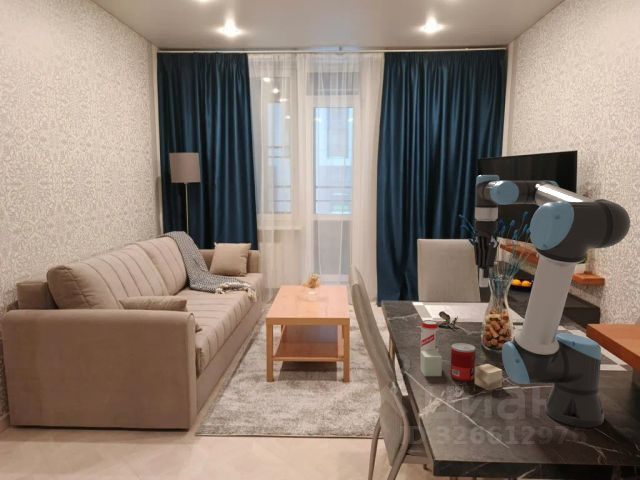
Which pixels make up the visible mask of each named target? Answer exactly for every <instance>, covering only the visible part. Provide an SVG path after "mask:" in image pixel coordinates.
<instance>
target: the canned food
mask: <svg viewBox="0 0 640 480" xmlns="http://www.w3.org/2000/svg"><path fill="white" fill-rule="evenodd" d="M450 351H451V352H450V377H451V378H452V379H453V380H456V381H460V382H471V381H473V380H475V367H476V366H475V365H476V347H475V346H474V345H473V344H469V343H464V342H458V343H453V344H452V345H451V349H450Z"/></svg>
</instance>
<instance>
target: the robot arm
mask: <svg viewBox="0 0 640 480" xmlns="http://www.w3.org/2000/svg"><path fill="white" fill-rule="evenodd" d="M475 183H476V184H475V207H474V208H475V209H474V219H475V220H474V231H475V232H477V233H476V236H475V237H472V242H473V243H472V244H473V250H474V263H475V266H478V269H479V271H478V275H479V277H478V278H479V279H478V287H479V288H488V287H489V277H490V269H493V268H494V266H495V263H496V262H495V260H496V257H497V252H498V251H497V250H498V248H499V245H500V242H499V241H497V240H496V239H495V238H496V237H495V232H498V221H497V219H498V217H499V216H498V215H499V205H501V206H502V205H503V206H505V205H536V206H539V207H538V208H537V209H536V210H535V212H534V214H533V216H532V218H531V220H530V225H529V232H530V234H529V238H530V242H531V244H532V245H533V246H534V247H535V248H534V250H535V252H536V253H537V254H538V256H539V257H538V262H537V266H536V271H535V274H534V278H533V283H532V287H531V291H530V295H529V299H528V304H527V306H526V307H527V308H526V312H525V314H524V315H525V316H524V319H523V323H522V327H521V328H520V329H518V330H516V331H515V333H514V334H513V335H514V336H513V340H512V341H510V340H509V341H506V342H505V343H503V345H502V348H501V357H502V358H501V359H502V364H503V366H504V367H503V368H504V369H505V372H506V375H507V376H508V378H509V379H510V380H511V381H512V382H513V383H514V384H518V385H519V384H520V385H521V384H522V385H531V384H533V385H535V384H552V388H551V389H550V392H549V395H548V398H546V401H545V403H544V411H545V413H546V415H547V416H548V417H550V418H551V419H553V420H555V421H557V422H559V423H562V424H565V425H567V426H572V427H577V428H586V429H588V428H597V427H600V426H601V425H602V424H604V421H605V420H604V418H605V411H604V409H603V406H602V402H601V398H600V395H599V388H600V379H601V378H600V377H601V376H600V375H601V363H602V362H601V361H602V360H603V359H602V348H601V346H600V344H599V343H598V342H597V341H595V340H593V339H590V338H588V337H585V336H582V335H578V334H572V333H565V332H564V333H563V332H560V333H558V330H559V326H560V323H561V319H562V315H563V312H564V308H565V305H566V301H567V297H568V294H569V290H570V287H571V284H572V279H573V278H574V277H573V276H574V273H575V269H576V266H577V265H578V264H580V263H583V262H584V261H585V259H586V256H587V253H588V250H589V249H606V248H610V247H614V246H615V245H617V244H619V243H620V242H621V241H623V240H624V239H625V238H626V237H627V235H628V233H629V231H630V229H631V220H630V219H631V218H630V214H629V213H628V211H627V210H626V209H625V208H624V206H622V205H620V204H619V203H617V202H613V201H610V200H608V199H605V198H598V199H592V198H590V197H587V196H584V195H581V194H578V193H576V192H573V191H570V190H567V189H564V188H561V187H560V185H559V184H558V182H556V181H554V180H546V179H542V180H507V179H506V180H504V179H503V180H502V179H501V180H500V176H499V175H497V174H480V175H478V176H476V182H475Z"/></svg>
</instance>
